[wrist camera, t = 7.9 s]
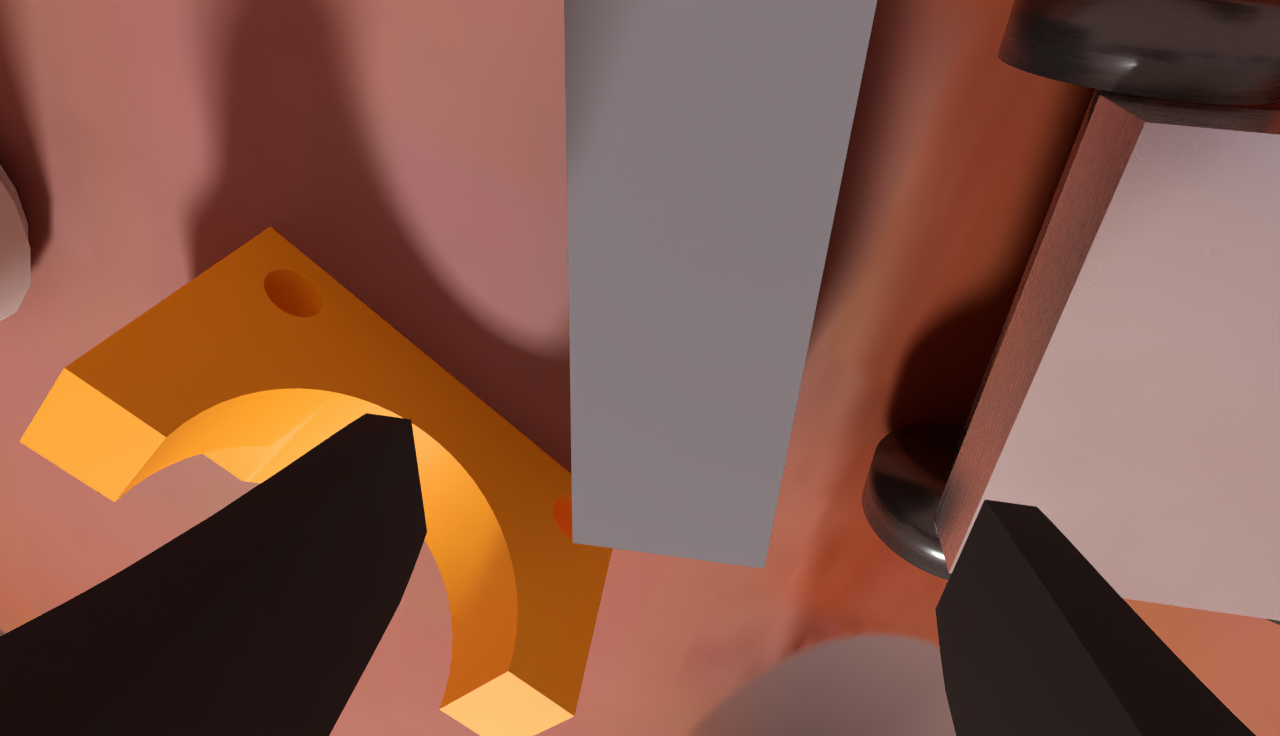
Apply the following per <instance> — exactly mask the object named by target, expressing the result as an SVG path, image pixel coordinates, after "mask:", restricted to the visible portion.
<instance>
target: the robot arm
mask: <svg viewBox="0 0 1280 736" xmlns="http://www.w3.org/2000/svg"><path fill="white" fill-rule="evenodd" d="M426 534H427V526H426V519H425V512H424V505H423V498H422V491H421V484H420V477H419V470H418V463H417V456H416V449H415V442H414V435H413V428H412V421H411V419H405V418H398V417H390V416H383V415H376V414H369V413H366V414H364V415H363V416H361V417H359V418H358V419H356V420H355V421H353V422H351V423H350V424H348V425H347V426H345V427H344V428H342V429H341V430H339V431H338V432H336V433H335V434H333V435H332V436H330V437H329V438H327V439H326V440H324V441H323V442H321V443H320V444H319V445H317V446H316V447H314V448H313V449H311V450H310V451H308V452H307V453H305V454H304V455H302V456H301V457H299V458H298V459H297V460H295V461H294V462H292V463H291V464H289V465H288V466H286V467H285V468H283V469H282V470H280V471H279V472H277V473H276V474H274V475H273V476H271V477H270V478H268V479H267V480H265V481H264V482H262V483H261V484H259V485H258V486H256V487H255V488H253V489H252V490H250V491H249V492H247V493H246V494H244V495H243V496H241V497H240V498H238V499H237V500H235V501H234V502H232V503H231V504H229V505H228V506H226V507H225V508H223V509H222V510H220V511H219V512H217V513H215V514H214V515H212V516H211V517H209V518H207V519H206V520H204V521H203V522H201V523H199V524H198V525H196V526H194V527H193V528H191V529H190V530H188V531H186V532H185V533H183V534H181V535H180V536H178V537H176V538H175V539H173V540H172V541H170V542H168V543H167V544H165V545H163V546H162V547H160V548H158V549H157V550H155V551H154V552H152V553H150V554H149V555H147V556H145V557H144V558H142V559H140V560H139V561H137V562H136V563H134V564H132V565H131V566H129V567H127V568H126V569H124V570H122V571H121V572H119V573H117V574H115V575H114V576H112V577H110V578H108V579H107V580H105V581H103V582H101V583H100V584H98V585H96V586H94V587H93V588H91V589H89V590H87V591H85V592H83V593H82V594H80V595H78V596H76V597H74V598H73V599H71V600H69V601H67V602H65V603H63V604H62V605H60V606H58V607H56V608H54V609H52V610H50V611H48V612H46V613H44V614H42V615H41V616H39V617H37V618H35V619H33V620H31V621H29V622H27V623H25V624H23V625H21V626H20V627H18V628H16V629H14V630H12V631H10V632H8V633H6V634H4V635H2V636H0V736H329V735H330V733H331V731H332V729H333V727H334V725H335V724H336V722H337V720H338V718H339V716H340V714H341V712H342V711H343V709H344V707H345V705H346V703H347V701H348V699H349V698H350V696H351V694H352V692H353V690H354V688H355V686H356V685H357V683H358V681H359V679H360V677H361V675H362V674H363V672H364V670H365V668H366V666H367V664H368V662H369V661H370V659H371V657H372V655H373V653H374V651H375V649H376V647H377V645H378V644H379V642H380V640H381V638H382V636H383V634H384V632H385V630H386V628H387V627H388V625H389V623H390V621H391V619H392V617H393V615H394V613H395V611H396V609H397V607H398V605H399V604H400V601H401V599H402V596H403V594H404V591H405V589H406V586H407V584H408V582H409V579H410V577H411V574H412V572H413V569H414V566H415V564H416V561H417V558H418V555H419V553H420V550H421V547H422V545H423V542H424V539H425V537H426ZM936 617H937V626H938V635H939V645H940V654H941V661H942V669H943V676H944V683H945V690H946V694H947V699H948V703H949V707H950V712H951V716H952V719H953V724H954V727H955V732H956V736H1256V735H1255V734H1254V733H1253V732H1251V731H1250V730H1249V729H1248V728H1247V727H1246V726H1245V725H1244V724H1243V723H1242V722H1241V721H1240V720H1239V719H1238V718H1237V717H1236V716H1235V715H1234V714H1233V713H1232V712H1231V711H1230V710H1229V709H1228V708H1227V707H1226V706H1225V705H1224V704H1223V703H1222V702H1221V701H1220V700H1219V699H1218V698H1217V697H1216V696H1215V695H1214V694H1213V693H1212V692H1211V691H1210V690H1209V689H1208V688H1207V687H1206V686H1205V685H1204V684H1203V683H1202V682H1201V681H1200V680H1199V679H1198V678H1197V677H1196V676H1195V675H1194V674H1193V673H1192V672H1191V671H1190V670H1189V668H1188V667H1187V666H1186V665H1185V664H1184V663H1183V662H1182V661H1181V660H1180V659H1179V658H1178V657H1177V656H1176V655H1175V654H1174V653H1173V652H1172V651H1171V650H1170V649H1169V648H1168V647H1167V646H1166V644H1165V643H1164V642H1163V641H1162V640H1161V639H1160V638H1159V637H1158V636H1157V635H1156V634H1155V633H1154V632H1153V631H1152V630H1151V629H1150V628H1149V626H1148V625H1147V624H1146V623H1145V622H1144V621H1143V620H1142V619H1141V618H1140V617H1139V616H1138V615H1137V614H1136V613H1135V611H1134V610H1133V609H1132V608H1131V607H1130V606H1129V605H1128V604H1127V603H1126V602H1125V601H1124V600H1123V598H1122V597H1121V596H1120V595H1119V594H1118V593H1117V592H1116V591H1115V590H1114V589H1113V588H1112V586H1111V585H1110V584H1109V583H1108V582H1107V581H1106V580H1105V579H1104V578H1103V577H1102V576H1101V575H1100V573H1099V572H1098V571H1097V570H1096V569H1095V568H1094V567H1093V566H1092V565H1091V564H1090V563H1089V561H1088V560H1087V559H1086V558H1085V557H1084V556H1083V555H1082V554H1081V553H1080V552H1079V551H1078V549H1077V548H1076V547H1075V546H1074V545H1073V544H1072V543H1071V542H1070V541H1069V540H1068V539H1067V537H1066V536H1065V535H1064V534H1063V533H1062V532H1061V531H1060V530H1059V529H1058V528H1057V527H1056V526H1055V525H1054V524H1053V523H1052V522H1051V520H1050V519H1049V518H1048V517H1047V516H1046V515H1045V514H1044V513H1043V512H1042V511H1041V510H1040V509H1039V508H1038V507H1035V506H1028V505H1021V504H1014V503H1007V502H1000V501H992V500H984V502H983V504H982V506H981V509H980V511H979V513H978V515H977V518H976V520H975V522H974V524H973V527H972V529H971V531H970V533H969V536H968V538H967V540H966V542H965V545H964V547H963V549H962V551H961V554H960V556H959V558H958V560H957V563H956V565H955V567H954V569H953V572H952V574H951V576H950V578H949V581H948V583H947V585H946V587H945V589H944V592H943V594H942V596H941V598H940V601H939V603H938V605H937V607H936Z"/></svg>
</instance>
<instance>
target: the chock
mask: <svg viewBox="0 0 1280 736" xmlns="http://www.w3.org/2000/svg"><path fill="white" fill-rule="evenodd" d="M876 4H877V0H564V14H565V79H566V145H567V210H568V276H569V342H570V407H571V473H572V538H573V543H578V544H585V545H593V546H600V547H608V548H615V549H622V550H630V551H637V552H645V553H652V554H660V555H667V556H675V557H682V558H690V559H697V560H705V561H712V562H720V563H727V564H734V565H742V566H749V567H757V568H764V566H765V561H766V556H767V551H768V546H769V541H770V536H771V531H772V526H773V521H774V516H775V511H776V506H777V501H778V496H779V491H780V486H781V481H782V476H783V471H784V466H785V461H786V456H787V451H788V446H789V441H790V436H791V431H792V426H793V421H794V416H795V411H796V406H797V401H798V396H799V391H800V386H801V381H802V376H803V371H804V366H805V361H806V356H807V351H808V346H809V341H810V336H811V331H812V326H813V321H814V316H815V310H816V305H817V300H818V295H819V290H820V285H821V280H822V275H823V270H824V265H825V260H826V255H827V250H828V245H829V240H830V235H831V230H832V225H833V220H834V215H835V210H836V205H837V200H838V195H839V190H840V185H841V180H842V175H843V170H844V165H845V160H846V155H847V150H848V145H849V140H850V135H851V130H852V125H853V120H854V115H855V110H856V105H857V100H858V95H859V90H860V85H861V80H862V75H863V70H864V65H865V60H866V55H867V50H868V45H869V39H870V34H871V29H872V24H873V19H874V14H875V9H876Z"/></svg>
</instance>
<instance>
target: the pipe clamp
mask: <svg viewBox="0 0 1280 736" xmlns="http://www.w3.org/2000/svg"><path fill="white" fill-rule="evenodd" d="M366 413H369V414H376V415H383V416H390V417H398V418H405V419H411V421H412V428H413V435H414V442H415V449H416V456H417V463H418V470H419V477H420V484H421V491H422V498H423V505H424V512H425V519H426V526H427V534H426V537H425V539H424V540H425V541H426V543H427V545H428V547H429V549H430V551H431V552H432V554H433V556H434V558H435V561H436V563H437V565H438V568H439V570H440V573H441V576H442V579H443V581H444V584H445V588H446V592H447V596H448V600H449V605H450V612H451V619H452V634H453V642H452V659H451V667H450V674H449V678H448V682H447V687H446V691H445V694H444V697H443V700H442V703H441V706H440V710H441V711H443V712H444V713H446V714H447V715H449V716H451V717H452V718H454V719H455V720H457V721H458V722H460V723H462V724H463V725H465V726H466V727H468V728H469V729H471V730H473V731H474V732H476V733H477V734H479V735H480V736H534V735H536V734H538V733H540V732H542V731H544V730H546V729H548V728H551V727H553V726H555V725H557V724H559V723H561V722H563V721H565V720H567V719H570V718H572V717H574V715H575V711H576V707H577V702H578V698H579V693H580V689H581V685H582V680H583V676H584V671H585V667H586V663H587V658H588V654H589V649H590V645H591V641H592V636H593V632H594V627H595V623H596V619H597V614H598V610H599V605H600V601H601V596H602V592H603V588H604V583H605V579H606V574H607V570H608V566H609V561H610V557H611V552H612V548H608V547H600V546H593V545H585V544H578V543H573V538H572V474H571V473H570V472H568V471H567V470H566V469H565V468H564V467H562V466H561V465H560V464H559V463H557V462H556V461H555V460H554V459H553V458H551V457H550V456H549V455H548V454H547V453H545V452H544V451H543V450H542V449H540V448H539V447H538V446H537V445H536V444H534V443H533V442H532V441H531V440H529V439H528V438H527V437H526V436H525V435H523V434H522V433H521V432H520V431H519V430H517V429H516V428H515V427H514V426H512V425H511V424H510V423H509V422H508V421H506V420H505V419H504V418H503V417H502V416H500V415H499V414H498V413H497V412H495V411H494V410H493V409H492V408H491V407H489V406H488V405H487V404H486V403H484V402H483V401H482V400H481V399H480V398H478V397H477V396H476V395H475V394H474V393H472V392H471V391H470V390H469V389H467V388H466V387H465V386H464V385H463V384H461V383H460V382H459V381H458V380H457V379H455V378H454V377H453V376H452V375H450V374H449V373H448V372H447V371H446V370H444V369H443V368H442V367H441V366H439V365H438V364H437V363H436V362H435V361H433V360H432V359H431V358H430V357H429V356H427V355H426V354H425V353H424V352H422V351H421V350H420V349H419V348H418V347H416V346H415V345H414V344H413V343H411V342H410V341H409V340H408V339H407V338H405V337H404V336H403V335H402V334H401V333H399V332H398V331H397V330H396V329H394V328H393V327H392V326H391V325H390V324H388V323H387V322H386V321H385V320H384V319H382V318H381V317H380V316H379V315H377V314H376V313H375V312H374V311H373V310H371V309H370V308H369V307H368V306H366V305H365V304H364V303H363V302H362V301H360V300H359V299H358V298H357V297H356V296H354V295H353V294H352V293H351V292H349V291H348V290H347V289H346V288H345V287H343V286H342V285H341V284H340V283H339V282H337V281H336V280H335V279H334V278H332V277H331V276H330V275H329V274H328V273H326V272H325V271H324V270H323V269H321V268H320V267H319V266H318V265H317V264H315V263H314V262H313V261H312V260H311V259H309V258H308V257H307V256H306V255H304V254H303V253H302V252H301V251H300V250H298V249H297V248H296V247H295V246H293V245H292V244H291V243H290V242H289V241H287V240H286V239H285V238H284V237H283V236H281V235H280V234H279V233H278V232H276V231H275V230H274V229H273V228H272V227H269V228H267V229H266V230H264V231H263V232H261V233H260V234H258V235H257V236H256V237H254V238H253V239H251V240H250V241H248V242H247V243H245V244H244V245H242V246H241V247H240V248H238V249H237V250H235V251H234V252H232V253H231V254H229V255H228V256H226V257H225V258H223V259H222V260H221V261H219V262H218V263H216V264H215V265H213V266H212V267H210V268H209V269H207V270H206V271H205V272H203V273H202V274H200V275H199V276H197V277H196V278H194V279H193V280H191V281H190V282H189V283H187V284H186V285H184V286H183V287H181V288H180V289H178V290H177V291H175V292H174V293H173V294H171V295H170V296H168V297H167V298H165V299H164V300H162V301H161V302H159V303H158V304H157V305H155V306H154V307H152V308H151V309H149V310H148V311H146V312H145V313H143V314H142V315H141V316H139V317H138V318H136V319H135V320H133V321H132V322H130V323H129V324H127V325H126V326H125V327H123V328H122V329H120V330H119V331H117V332H116V333H114V334H113V335H111V336H110V337H109V338H107V339H106V340H104V341H103V342H101V343H100V344H98V345H97V346H95V347H94V348H93V349H91V350H90V351H88V352H87V353H85V354H84V355H82V356H81V357H79V358H78V359H76V360H75V361H74V362H72V363H71V364H69V365H68V366H66V367H65V368H64V369H63V371H62V373H61V374H60V376H59V377H58V379H57V381H56V382H55V384H54V386H53V387H52V389H51V391H50V392H49V394H48V395H47V397H46V399H45V400H44V402H43V404H42V405H41V407H40V409H39V410H38V412H37V413H36V415H35V417H34V418H33V420H32V422H31V423H30V425H29V427H28V428H27V430H26V431H25V433H24V435H23V436H22V438H21V440H20V441H19V442H21V443H22V444H24V445H26V446H27V447H29V448H30V449H32V450H33V451H35V452H37V453H38V454H40V455H41V456H43V457H44V458H46V459H47V460H49V461H51V462H52V463H54V464H55V465H57V466H58V467H60V468H62V469H63V470H65V471H66V472H68V473H69V474H71V475H73V476H74V477H76V478H77V479H79V480H80V481H82V482H84V483H85V484H87V485H88V486H90V487H91V488H93V489H95V490H96V491H98V492H99V493H101V494H102V495H104V496H106V497H107V498H109V499H110V500H112V501H113V502H115V501H116V500H118V499H119V498H120V497H121V496H122V495H123V494H125V493H126V492H127V491H128V490H129V489H131V488H132V487H133V486H135V485H136V484H138V483H139V482H141V481H142V480H144V479H145V478H147V477H148V476H150V475H151V474H153V473H155V472H157V471H159V470H161V469H163V468H165V467H167V466H168V465H171V464H173V463H176V462H178V461H181V460H183V459H186V458H188V457H192V456H195V455H199V454H204V455H205V456H207V457H208V458H210V459H211V460H213V461H214V462H215V463H217V464H218V465H220V466H221V467H223V468H224V469H226V470H227V471H229V472H230V473H231V474H233V475H234V476H236V477H237V478H239V479H240V480H242V481H245V482H255V483H262V482H264V481H265V480H267V479H268V478H270V477H271V476H273V475H274V474H276V473H277V472H279V471H280V470H282V469H283V468H285V467H286V466H288V465H289V464H291V463H292V462H294V461H295V460H297V459H298V458H299V457H301V456H302V455H304V454H305V453H307V452H308V451H310V450H311V449H313V448H314V447H316V446H317V445H319V444H320V443H321V442H323V441H324V440H326V439H327V438H329V437H330V436H332V435H333V434H335V433H336V432H338V431H339V430H341V429H342V428H344V427H345V426H347V425H348V424H350V423H351V422H353V421H355V420H356V419H358V418H359V417H361V416H363V415H364V414H366Z"/></svg>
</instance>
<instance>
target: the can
mask: <svg viewBox="0 0 1280 736" xmlns="http://www.w3.org/2000/svg"><path fill="white" fill-rule="evenodd" d="M30 285H31V277H30V246H29V242H28V222H27V219H26V216H25V214H24V211H23V208H22V205H21V202H20V199H19V196H18V193H17V190H16V188H15V187H14V185H13V184H12V182H11V180H10V179H9V177H8V175H7V174H6V172H5V171H4V169H3V167H2V166H1V164H0V321H1V320H3V319H5V318H7V317H8V316H10V315H12V314H14V313H15V312H17V310H18V308H19V306H20V304H21V303H22V301H23V299H24V297H25V295H26V293H27V291H28V289H29V287H30Z"/></svg>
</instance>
